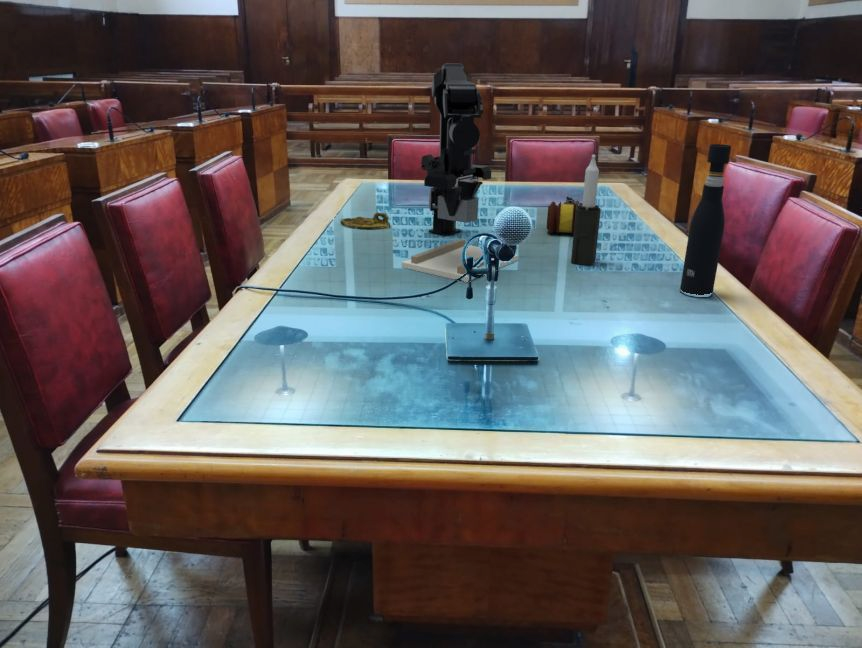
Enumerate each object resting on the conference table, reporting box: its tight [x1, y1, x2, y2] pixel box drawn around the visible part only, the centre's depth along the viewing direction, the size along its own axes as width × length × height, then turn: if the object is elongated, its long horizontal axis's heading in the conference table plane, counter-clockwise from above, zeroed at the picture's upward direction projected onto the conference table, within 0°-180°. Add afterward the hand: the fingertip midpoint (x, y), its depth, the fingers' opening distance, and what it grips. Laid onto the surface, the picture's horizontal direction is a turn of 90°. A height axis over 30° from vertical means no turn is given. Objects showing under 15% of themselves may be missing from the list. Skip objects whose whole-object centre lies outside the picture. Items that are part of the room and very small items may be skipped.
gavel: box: [546, 196, 583, 236], centre depth 197 cm, size 10×34×10 cm
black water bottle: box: [679, 143, 732, 295], centre depth 138 cm, size 6×6×30 cm
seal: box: [340, 212, 391, 231], centre depth 193 cm, size 9×5×15 cm
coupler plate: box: [401, 238, 519, 283], centre depth 160 cm, size 22×18×3 cm
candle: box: [570, 154, 602, 267], centre depth 159 cm, size 5×5×25 cm
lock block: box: [438, 195, 479, 224], centre depth 157 cm, size 4×8×5 cm, turn 53°
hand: (457, 214), depth 158 cm, fingers closed on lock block, 4 cm apart
